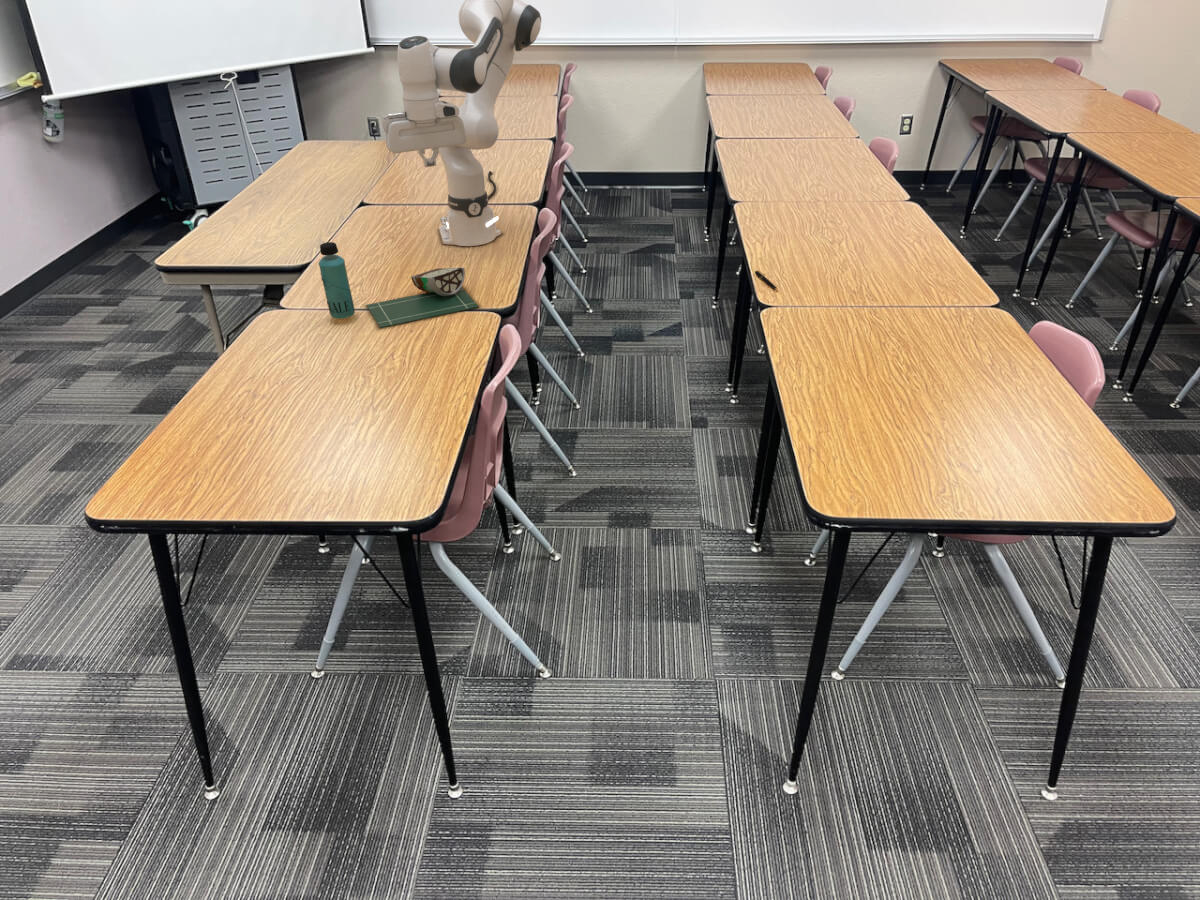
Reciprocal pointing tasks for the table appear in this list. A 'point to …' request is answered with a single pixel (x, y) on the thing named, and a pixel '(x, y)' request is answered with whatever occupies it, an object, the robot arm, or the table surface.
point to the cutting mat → (419, 307)
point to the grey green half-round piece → (440, 280)
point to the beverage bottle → (335, 282)
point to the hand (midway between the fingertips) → (430, 166)
